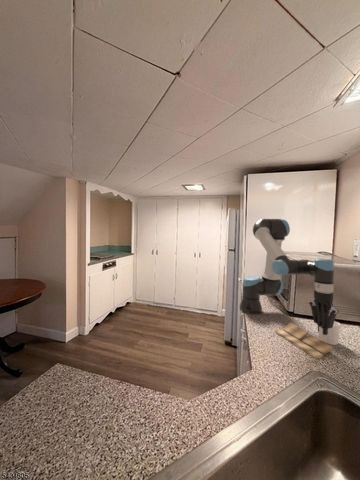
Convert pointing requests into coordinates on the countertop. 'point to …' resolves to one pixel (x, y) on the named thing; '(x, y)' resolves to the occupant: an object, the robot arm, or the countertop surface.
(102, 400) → the countertop surface
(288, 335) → the laid board
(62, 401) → the countertop surface
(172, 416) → the countertop surface
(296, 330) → the plank
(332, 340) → the white cup
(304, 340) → the plank
